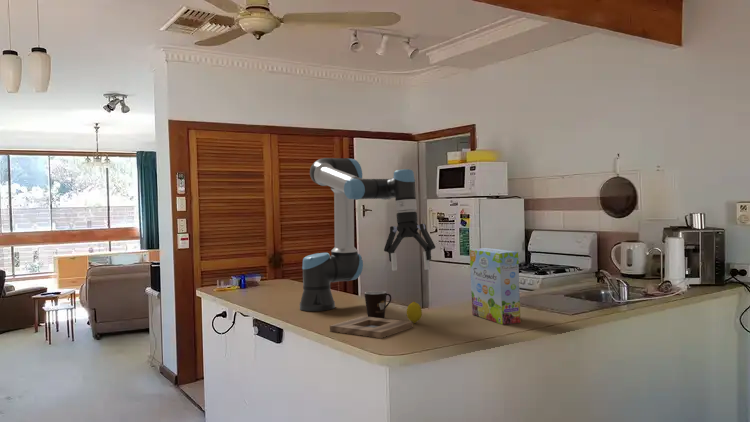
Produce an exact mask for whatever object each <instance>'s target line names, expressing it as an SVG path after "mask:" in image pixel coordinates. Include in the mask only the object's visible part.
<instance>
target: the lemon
mask: <svg viewBox="0 0 750 422" xmlns="http://www.w3.org/2000/svg"><path fill="white" fill-rule="evenodd" d="M422 315H423V310H422V307H421V305H420V304H419V303H418V302H416V301H412V302H410V304H408V306H407V308H406V316H407V318H408V320H409V321H410V322H412V324H416V323H417V322H419V321H420V320H421V319H422V317H423V316H422Z"/></svg>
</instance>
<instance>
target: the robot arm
mask: <svg viewBox="0 0 750 422" xmlns="http://www.w3.org/2000/svg"><path fill="white" fill-rule="evenodd" d="M309 176H310V178H311V181H312V182H313V183H315V184H316V185H318V186H319V185H320V186H322V187H327V186H328V187H330V190H331V191H332V192H333V196H334V197H333V198H334V202H333V203H334V205H333V206H334V208H333V209H334V214H333V215H334V217H333V218H334V247H333V248H332V249H331V250H330V252H331V255H330V253H328V252H320V253H319V252H317V253H313V254H309V255H306V256H305V257H303V258H302V267H301V269H302V285H303V286H302V288H303V290H302V291H303V292H302V295H301V300H300V302H299V310H301V311H305V312H321V311H329V310H332V309H335V308H336V302H335V300H334V296H333V294H332V290H331V283H337V282H349V281H354V280H357V279H358V278H359V277H360V276H361V274H362V272H363V267H364V261H363V258H362V255H361V254H359V253H358V250H357V248H356V247H355V210H354V209H355V200H372V199H373V200H377V199H378V200H380V199H381V200H391V199H395V211H396V212H397V213H396V223H397V226H395V225H392V226H390V227H389V234H388V237H387V239H386V242H385V244H384V245H385V246H384V248H383V251H384V252H387V253H388V256H389V257H388V258H389V260H388V261H389V262H391V271H392V272H396V271H398V259H397V252H396V250H397V249H398V246H399V245H400V244H401V242H402V240H403V239H404V238H413V239H415V240H416V241H417V242H418V243H419V245H420V246H421V247H422V248H423V250H424V251H423V253H422V255H423V264H424V266H423V267H424V269H423V270H424V271H426V270H427V271H428V270H430V269H431V268H430V267H431V266H430V264H431V263H430V261H431V260H432V251H433V250H434V249H436V244H435V242H434V241H433V239H432V237H431V236H430V233H429V231H428V230H427V224H426V223H420V224H418V212H416V211H417V210H418V208H417V198H416V197H417V196H416V195H417V194H416V179H415V172H414V171H413V169H410V168H409V169H407V168H405V169H403V168H402V169H396V170H395V171H394V172H393V177H391V178H363V169H362V166H361V164H360V162H359V161H358V160H356V159H354V158H348V157H347V158H346V157H345V158H344V157H343V158H341V157H335V158H334V157H323V158H322V157H321V158H319V159H317V160H316V161H314V162H313V163H312V165H311V166H310V169H309ZM418 230H419V231H420V233H421V234H420V233H419V232H418ZM397 232H398V234H397V235H396V233H397ZM421 235H422V236H423V237H422V236H421ZM395 237H396V238H395Z"/></svg>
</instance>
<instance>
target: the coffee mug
mask: <svg viewBox="0 0 750 422" xmlns="http://www.w3.org/2000/svg"><path fill="white" fill-rule="evenodd" d="M363 294H364V299H365V306H366V307H365V309H366V314H367V317H375V318H384V319H386V317H385V315H386V308H387V307H388V306H389V304H390V303H391V302H392V295H391V294H390V293H388V292H387V291H385V290H370V291H365V292H364V293H363ZM387 296H389V301H388V302H387ZM386 303H387V304H386Z"/></svg>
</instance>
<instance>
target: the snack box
mask: <svg viewBox="0 0 750 422" xmlns="http://www.w3.org/2000/svg"><path fill="white" fill-rule="evenodd" d="M469 265H470V266H469V267H470V290H471V291H470V293H471V313H472V315H473V316H476V317H479V318H482V319H484V320H488V321H491V322H493V323H496V324H499V325H502V326H505V325H513V324H521V323H522V322H521V321H522V320H521V300H520V299H521V298H520V297H521V296H520V295H521V294H520V272H519V271H520V269H519V265H520V261H519V252H518V251H516V250H515V251H514V250H507V249H499V248H492V247H491V248H489V247H481V248H470V249H469Z"/></svg>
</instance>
